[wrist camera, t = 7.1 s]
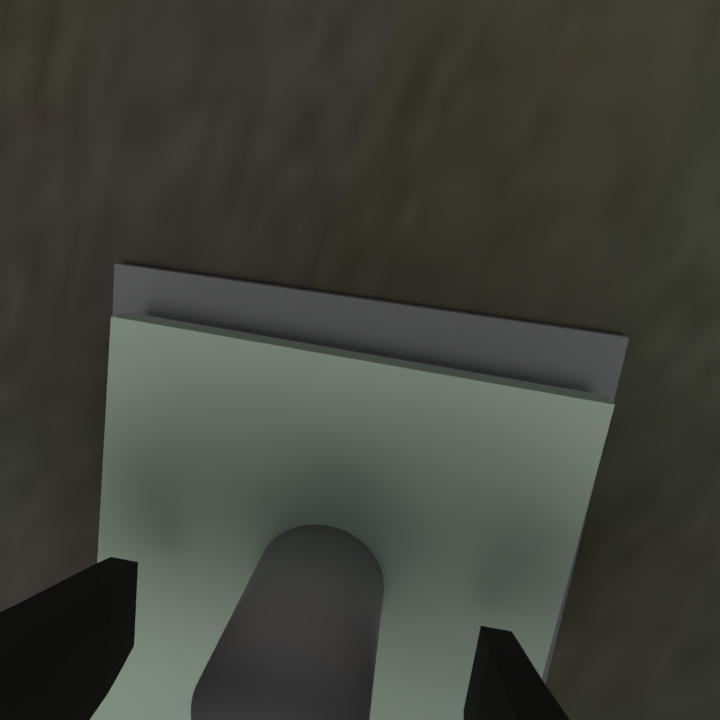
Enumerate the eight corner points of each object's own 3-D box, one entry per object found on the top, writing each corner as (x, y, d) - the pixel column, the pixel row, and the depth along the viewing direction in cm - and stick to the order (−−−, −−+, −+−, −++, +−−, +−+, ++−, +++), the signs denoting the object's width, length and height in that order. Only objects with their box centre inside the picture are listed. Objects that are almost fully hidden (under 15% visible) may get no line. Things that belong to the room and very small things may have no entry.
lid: (593, 386, 14) (709, 485, 8) (496, 764, 17) (534, 1036, 11) (143, 308, 15) (-29, 351, 9) (118, 680, 17) (-29, 892, 12)
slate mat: (623, 334, 14) (629, 337, 14) (522, 760, 17) (524, 773, 16) (122, 263, 15) (114, 263, 15) (107, 676, 18) (99, 686, 18)
